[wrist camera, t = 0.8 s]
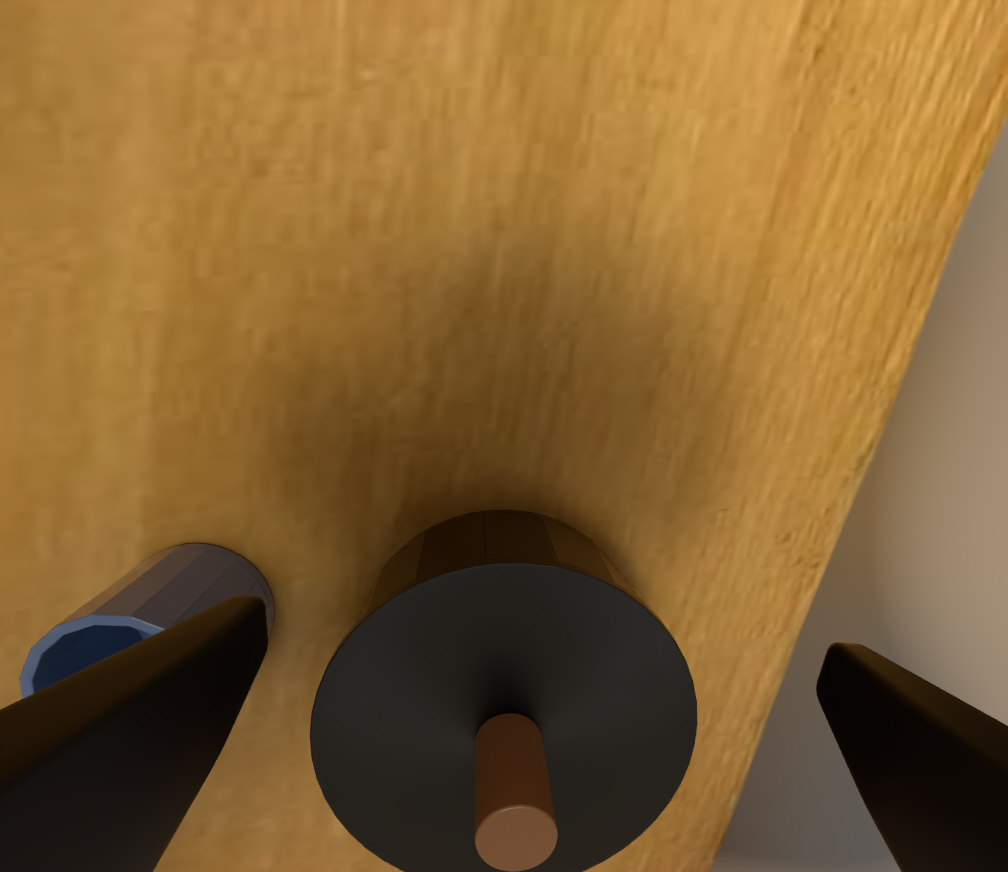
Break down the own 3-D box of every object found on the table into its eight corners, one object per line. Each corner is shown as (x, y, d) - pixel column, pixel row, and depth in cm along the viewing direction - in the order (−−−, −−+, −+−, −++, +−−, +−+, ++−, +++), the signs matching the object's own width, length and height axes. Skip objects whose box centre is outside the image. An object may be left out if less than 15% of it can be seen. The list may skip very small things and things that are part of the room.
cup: (169, 684, 23) (77, 793, 18) (104, 568, 22) (-17, 649, 16) (296, 643, 23) (243, 740, 18) (239, 524, 22) (162, 591, 16)
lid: (718, 800, 20) (787, 935, 16) (396, 901, 20) (375, 1063, 16) (636, 496, 17) (694, 558, 13) (256, 619, 17) (181, 722, 13)
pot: (659, 704, 25) (711, 808, 20) (417, 781, 25) (402, 906, 20) (593, 472, 22) (631, 520, 17) (318, 560, 22) (269, 637, 17)
